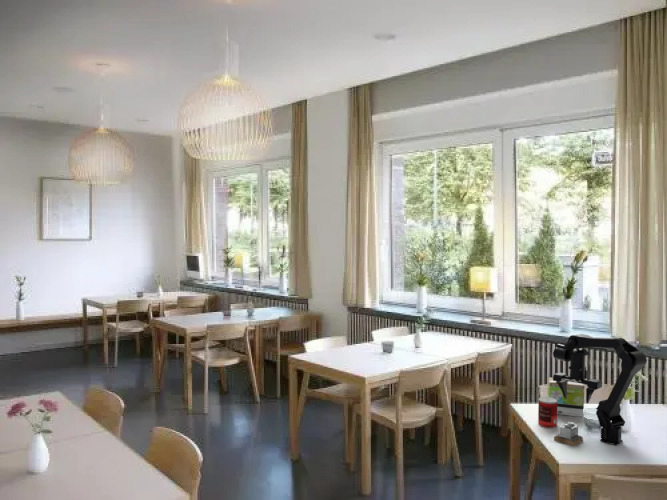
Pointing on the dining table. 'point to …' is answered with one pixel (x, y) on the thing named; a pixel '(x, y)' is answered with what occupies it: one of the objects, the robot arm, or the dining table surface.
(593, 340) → the robot arm
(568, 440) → the stand
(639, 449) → the dining table surface
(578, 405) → the tea box
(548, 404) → the canned food
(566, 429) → the housing
